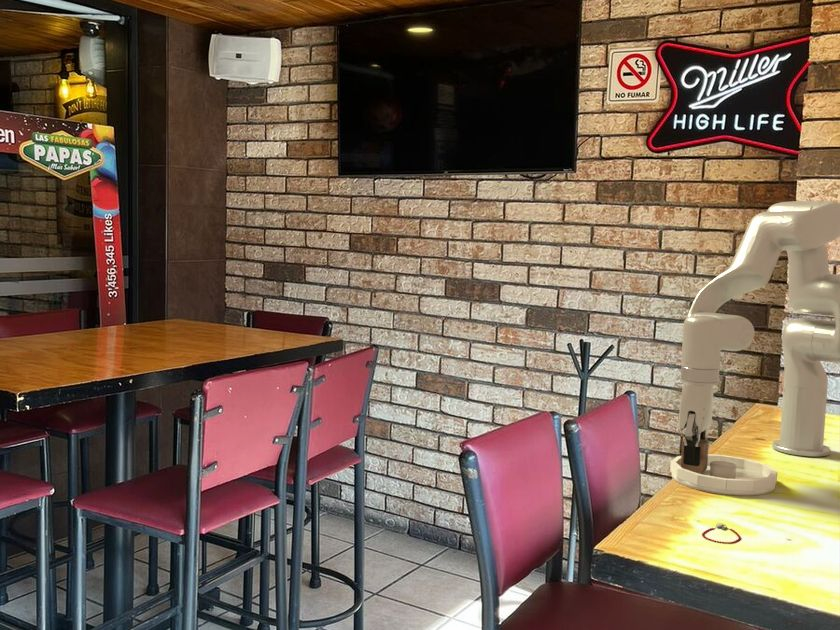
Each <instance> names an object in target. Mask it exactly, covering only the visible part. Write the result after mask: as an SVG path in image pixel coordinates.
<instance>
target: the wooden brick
mask: <svg viewBox="0 0 840 630" xmlns="http://www.w3.org/2000/svg"><path fill="white" fill-rule="evenodd" d="M684 442H685V439H683V440H682V441H681V455H680V456H681V467H682V468H683V469H686V470H689V471H692V472H698V473H703V472H704V471H705V470H706V469H707V463H708V454H709V444H710V440H708V439H707V440H703V439H700V443H699V447H701V451H700V465H699V466H692V465H686V464H684V463H683V458H684Z"/></svg>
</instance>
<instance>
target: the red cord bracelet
mask: <svg viewBox="0 0 840 630" xmlns="http://www.w3.org/2000/svg"><path fill="white" fill-rule="evenodd" d="M716 528H717V529H718V528H719V529H721V530H722V531H726V530H729V531H730V532H732V533H734V534H735V535H736V536H737V537H738V538H737V539H736V540H733V541H721V540H720V541H719V540H714V539H712V538H708V537H707V536H706V534H707V533H709V532H710V531H713V530H716ZM701 537H702V538H704V539H705V540H707V541H710V542H712V543H713V542H714V543H718V544H725V545H731V544H736V543H738V542H740V541H741V540H742V537H741V535H740V534H739V533H738V532H737V531H735V530H734V529H733V528H728V527H727V525H726V524H724V523H720V522H717V523H716V527H712V528H711V527H710V528H708V529H706V530H705V531H703V532H702V534H701Z"/></svg>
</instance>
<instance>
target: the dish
mask: <svg viewBox="0 0 840 630" xmlns="http://www.w3.org/2000/svg"><path fill="white" fill-rule="evenodd" d="M669 466H670V467H669V468H670V469H669V472H671V478H672V479H673V480H674V481H675V482H677V483H678V484H680V485H683V486H685V487H687V488H691V489H694V490H698V491H702V492H706V493H710V494H716V495H717V494H719V495H726V496H727V495H729V496H739V495H740V496H743V497H744V496H751V497H753V496H760V495H761V496H762V495H765V494H766V495H767V494H770V493H773V491H775V489H776V484H777V482H778V473H779V472H778V471H777V470H776V469H774V468H772V467H771V466H770V465H768V464H767V463H763V462H759V461H757V460H753V459H749V458H745V457H738V456H732V455H725V454H714V453H713V454H712V453H710V454H709V453H708V463H707V469H706V470H705V471H704V472H703V473H698V472H692V471H689V470H686V469H683V468H682V467H681V455H677V456H676V457H674V458H673V459H672V460H670V465H669ZM740 496H739V497H740Z"/></svg>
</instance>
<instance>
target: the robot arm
mask: <svg viewBox="0 0 840 630" xmlns="http://www.w3.org/2000/svg"><path fill="white" fill-rule="evenodd" d="M839 237H840V202H837V201H833V200H811V201H810V200H808V201H807V200H799V201H781V202H777V203H774V204H771V206H770V207H768V209H767V210H766V211H763V212H760V213H756V214H755V215H754V216H753V217H752V218H751V219H750V220H749V223H748V224H747V227H746V230H745V232H744V234H743V237H742V239H741V240H740V243H739V246H738V248H737V250H736V252H735V255H734V257H733V259H732V261H731V264H730V266H729V267H728V268H726V270H724V271H723V272H721V273H719V275H717V276H716V277H714V278H713V279H712V280H711V281H709V282H708V283H707V284H706V285H705V286H704V287H702V288H701V289H700V291H699V292H698V293H697V295H696V296H695V298H694V299H693V301H692V304H691V305H690V308H689V311H688V313H687V315H686V318H685V319H684V321H683V326H682V327H683V328H682V342H681V344H682V347H681V362H680V363H681V366H680V383H682V385H683V386H682V391H681V397H680V404H679V413H678V423H677V428H678V430H680V431H683V430H685V431H684V440H685V442H684V458H683V463H684V464H686V465H692V466H699V465H700V451H701V447H699V443H700V439H703V440H708V429H709V427H711V425H712V422H713V413H714V408H713V407H714V392H715V390H714V387H715V386H718V385H719V384H720V383H719V382H720V381H719V380H720V379H719V378H720V363H721V351H728V352H729V351H730V352H738V351H743V350H745V349H747V348H748V347H749V346H750V345H751V344H752V342H754V341H753V340H754V338H755V328H754V325H753V324H752V322H751V321H750V320H749V319H747V318H746V317H743V316H742V315H737V314H736V315H735V314H725V313H719V312H718V313H717V311H718V309H719V308H720V307H721V306H723V305H724V304H726V303H727V302H728V301H729V300H732V299H734V298H736V297H739V296H742V295H744V294H745V295H746V294H748V293H751V292H753V291H756V290H759V289H762V288H763V287H765V286H766V285H767V284H768V283H769V281H770V279H771V276H772V274H773V273H774V272H773V271H774V269H775V267H776V265H777V263H778V260H779V258H780V256H781V254H782V252H784V251H786V254H787V260H788V300H789V305H790V307H791V309H793V310H794V311H795V312H798V313H802V314H807V315H808V314H810V315H820V316H830V317H833V318H834V320H827V319H817V318H806V317H804V318H803V317H802V318H801V317H800V318H796V319H793V320H791V321H789V322H787V324H786V325H784V326H783V327H784V328H782V329H783V330H782V334H781V341H782V342H781V343H782V345H781V346H782V350H783V351H782V352H783V358H784V359H783V361H784V362H783V363H784V371H783V373H784V374H783V387H782V391H783V392H782V403H781V416H780V417H781V418H780V431H779V432H780V433H779V439H777V440H775V441H772V448H773V450H775V451H778V452H780V453H781V452H782V453H784V454H788V455H793V456H802V457H813V458H815V457H817V458H819V457H826V456H829V455H830V454H831V449H830V447H829V446H827V445H825V444H824V441H825V440H824V438H825V427H826V426H825V425H826V414H827V413H826V412H827V411H826V410H827V401H828V400H827V398H828V397H827V395H828V388H829V387H828V386H829V379H828V375H827V372H826V370H825V368H824V365H823V364H822V362H826V363H834V364H835V363H836V364H840V274H835V273H831V272H830V269H829V267H830V265H829V263H830V262H829V251H828V247H827V246H826V244H827V243H830V242H833V241H835V240H837V239H838V238H839Z"/></svg>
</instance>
